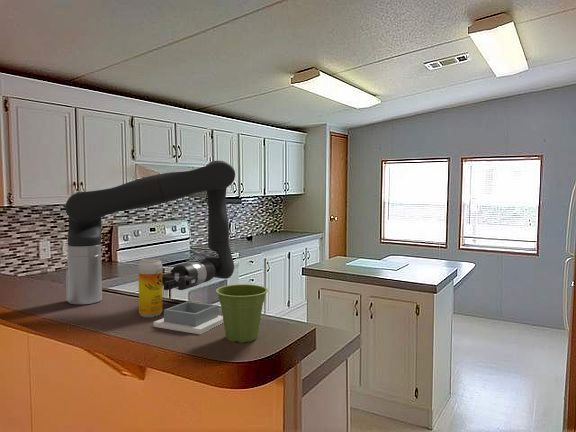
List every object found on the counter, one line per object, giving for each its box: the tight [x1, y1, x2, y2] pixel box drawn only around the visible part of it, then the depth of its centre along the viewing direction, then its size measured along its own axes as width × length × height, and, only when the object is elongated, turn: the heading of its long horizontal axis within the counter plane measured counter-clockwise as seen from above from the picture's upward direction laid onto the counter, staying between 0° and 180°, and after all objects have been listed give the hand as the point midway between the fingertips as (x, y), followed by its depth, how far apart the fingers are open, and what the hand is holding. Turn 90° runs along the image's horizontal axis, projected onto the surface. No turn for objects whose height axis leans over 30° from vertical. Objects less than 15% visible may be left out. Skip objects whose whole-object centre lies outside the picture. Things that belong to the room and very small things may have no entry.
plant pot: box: [215, 283, 269, 343], centre depth 101 cm, size 12×12×11 cm
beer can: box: [138, 258, 163, 318], centre depth 119 cm, size 6×6×15 cm
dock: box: [153, 300, 224, 335], centre depth 111 cm, size 14×12×4 cm
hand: (152, 285), depth 120 cm, fingers open, 8 cm apart
